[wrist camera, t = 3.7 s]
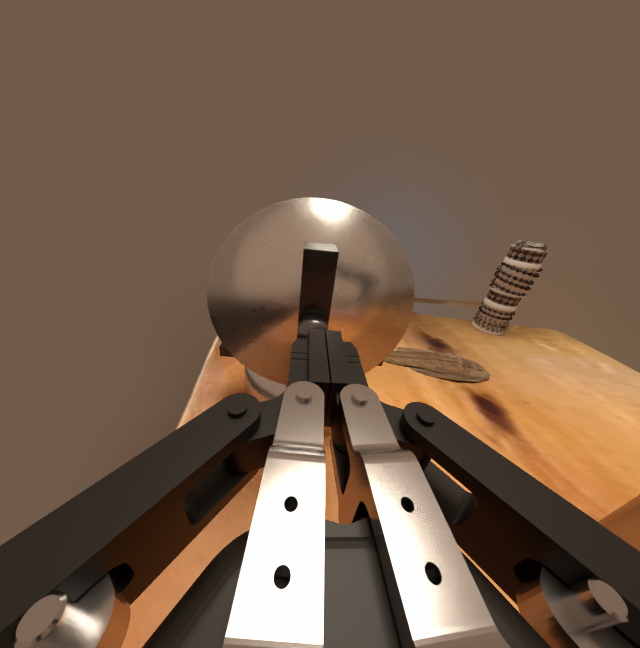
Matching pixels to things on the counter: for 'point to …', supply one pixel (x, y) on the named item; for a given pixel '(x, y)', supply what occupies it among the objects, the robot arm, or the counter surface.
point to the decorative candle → (510, 286)
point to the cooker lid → (308, 284)
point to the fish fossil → (438, 364)
